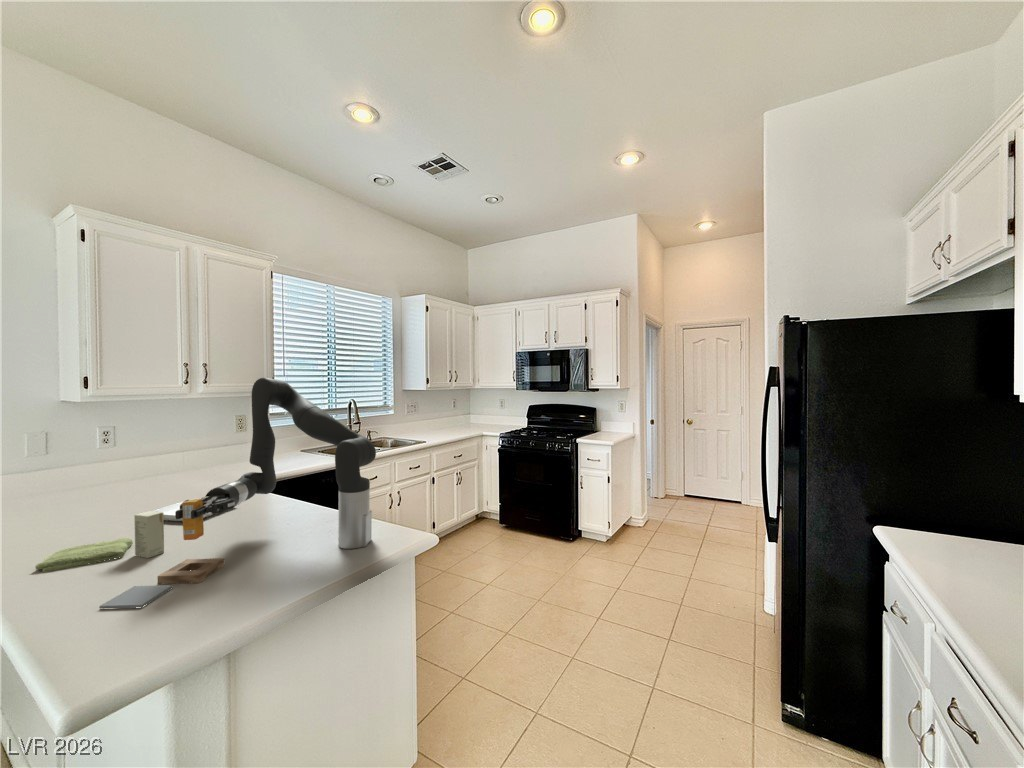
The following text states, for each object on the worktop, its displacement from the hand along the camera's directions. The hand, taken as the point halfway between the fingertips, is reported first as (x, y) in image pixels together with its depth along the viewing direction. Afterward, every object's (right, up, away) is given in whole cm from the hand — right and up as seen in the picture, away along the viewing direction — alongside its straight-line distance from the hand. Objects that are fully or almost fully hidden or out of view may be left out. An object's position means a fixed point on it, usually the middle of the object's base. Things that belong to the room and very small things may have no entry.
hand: (185, 515), depth 105 cm
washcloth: (-39, -17, +13) cm, 44 cm away
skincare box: (-23, -17, +15) cm, 33 cm away
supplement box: (0, -7, +3) cm, 8 cm away
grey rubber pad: (-4, -17, -9) cm, 19 cm away
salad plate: (-39, -17, +53) cm, 68 cm away
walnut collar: (0, -17, +3) cm, 17 cm away
